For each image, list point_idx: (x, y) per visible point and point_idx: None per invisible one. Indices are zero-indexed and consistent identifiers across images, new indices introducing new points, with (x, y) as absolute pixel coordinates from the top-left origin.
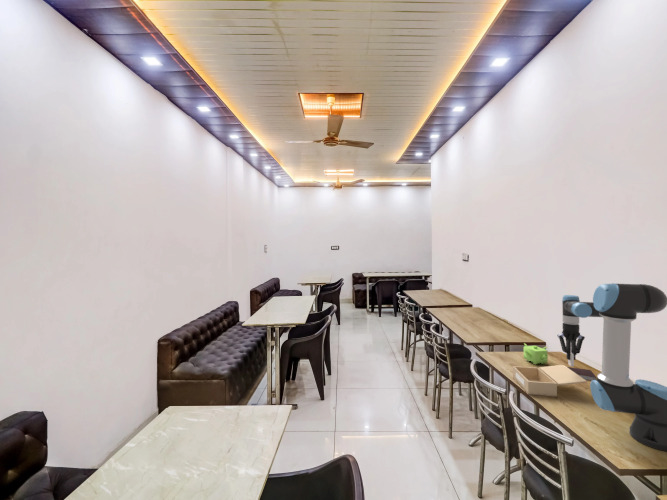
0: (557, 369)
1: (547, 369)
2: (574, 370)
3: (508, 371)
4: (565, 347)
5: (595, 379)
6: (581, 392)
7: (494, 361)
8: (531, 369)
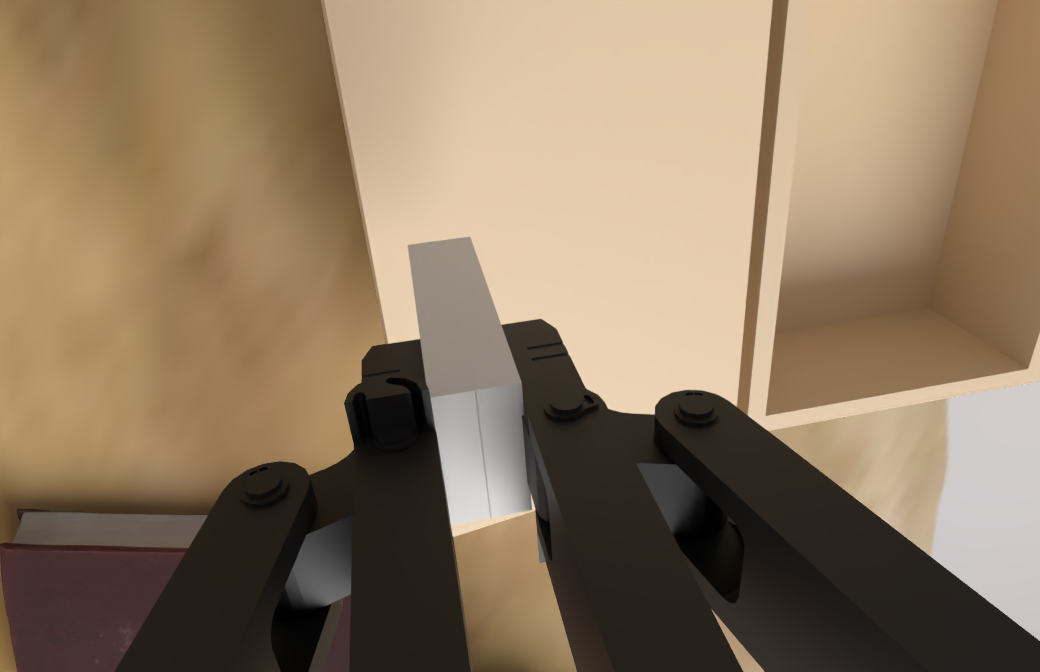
0: None
1: (677, 379)
2: None
3: (883, 462)
4: (793, 526)
5: (22, 527)
6: (310, 84)
7: None
8: (821, 391)
